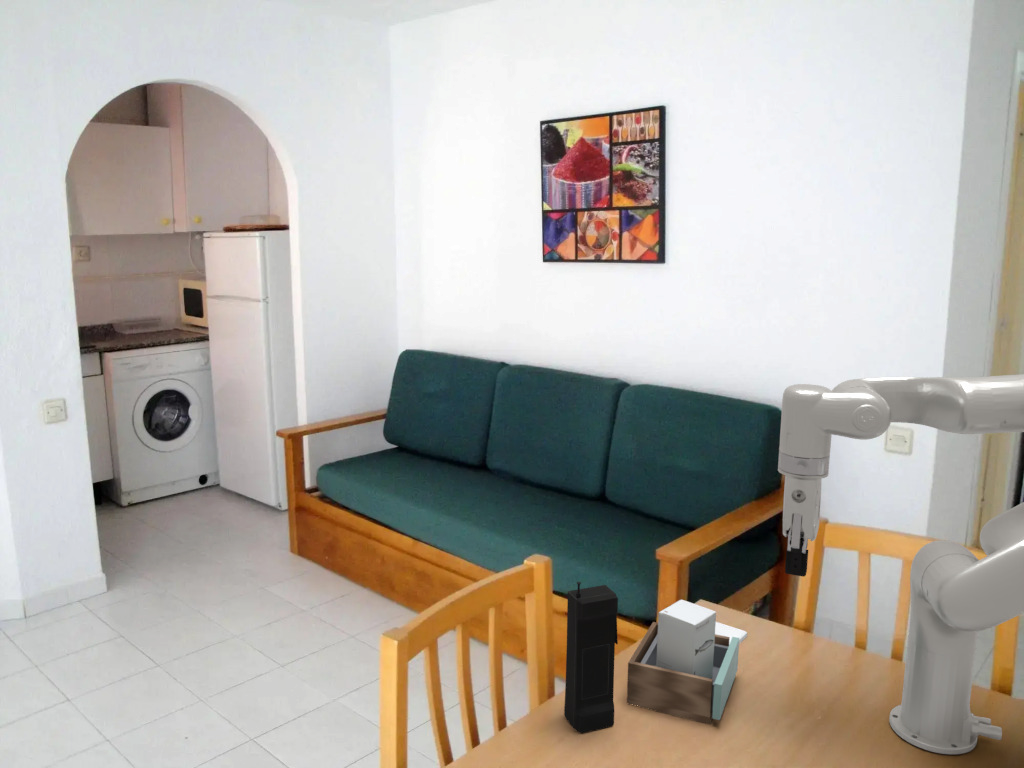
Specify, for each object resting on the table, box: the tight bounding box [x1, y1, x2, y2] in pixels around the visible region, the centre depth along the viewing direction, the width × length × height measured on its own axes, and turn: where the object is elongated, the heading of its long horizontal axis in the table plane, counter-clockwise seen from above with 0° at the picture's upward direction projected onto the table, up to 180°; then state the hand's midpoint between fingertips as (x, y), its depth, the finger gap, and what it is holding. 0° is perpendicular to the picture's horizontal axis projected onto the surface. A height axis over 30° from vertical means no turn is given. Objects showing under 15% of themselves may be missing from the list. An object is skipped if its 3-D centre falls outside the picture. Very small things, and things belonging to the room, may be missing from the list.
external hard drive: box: [715, 621, 748, 645], centre depth 160 cm, size 2×8×12 cm
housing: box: [626, 621, 730, 725], centre depth 143 cm, size 14×16×8 cm
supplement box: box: [656, 599, 717, 679], centre depth 141 cm, size 7×7×13 cm
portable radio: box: [563, 581, 619, 734], centre depth 132 cm, size 8×6×25 cm
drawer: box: [641, 634, 740, 721], centre depth 142 cm, size 14×17×6 cm
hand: (795, 573), depth 131 cm, fingers closed
